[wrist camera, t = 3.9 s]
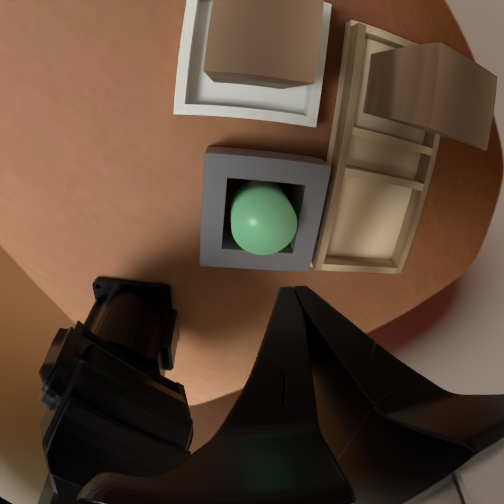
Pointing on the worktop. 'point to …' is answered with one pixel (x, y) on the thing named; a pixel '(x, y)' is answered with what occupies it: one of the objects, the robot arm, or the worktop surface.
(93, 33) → the worktop surface
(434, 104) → the billet
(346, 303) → the worktop surface
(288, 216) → the button
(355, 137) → the divided wooden tray
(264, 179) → the button box
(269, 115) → the parts tray
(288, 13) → the block
